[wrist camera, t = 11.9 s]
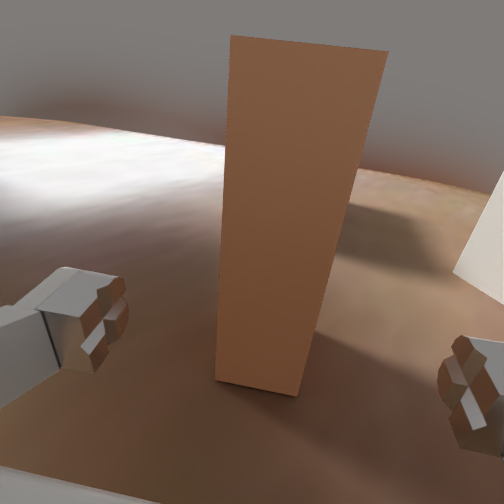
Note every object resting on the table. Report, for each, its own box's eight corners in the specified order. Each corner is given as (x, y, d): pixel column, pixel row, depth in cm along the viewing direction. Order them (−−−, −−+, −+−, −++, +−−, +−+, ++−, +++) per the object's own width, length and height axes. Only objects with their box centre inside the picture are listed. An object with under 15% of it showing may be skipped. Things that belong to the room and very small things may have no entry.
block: (297, 396, 16) (388, 51, 8) (214, 379, 16) (230, 34, 9) (301, 323, 20) (364, 51, 12) (236, 311, 20) (259, 39, 13)
